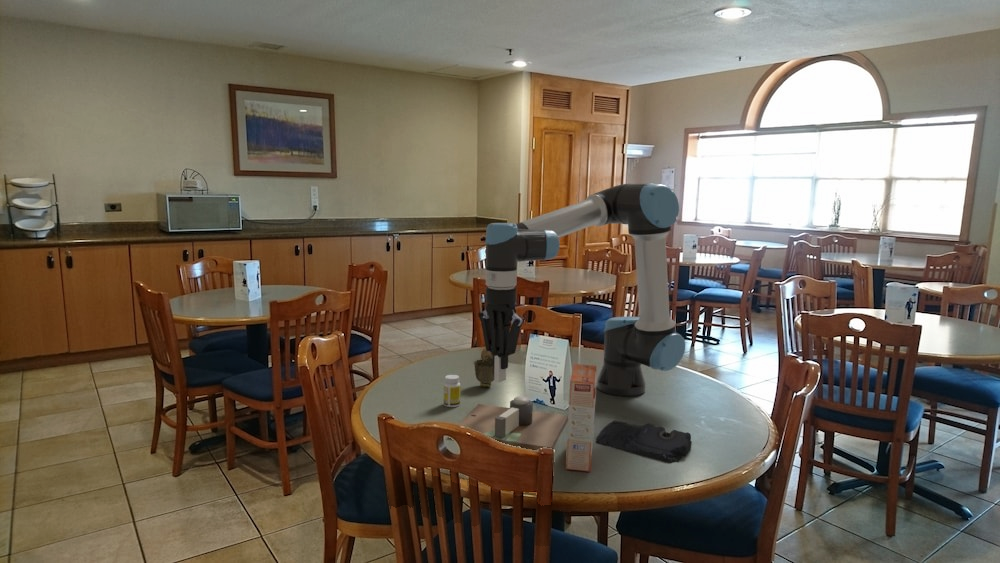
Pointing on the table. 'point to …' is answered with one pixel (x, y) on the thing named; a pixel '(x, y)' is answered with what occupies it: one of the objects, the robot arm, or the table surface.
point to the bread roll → (486, 355)
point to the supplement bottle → (451, 391)
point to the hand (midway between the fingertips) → (500, 380)
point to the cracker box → (581, 417)
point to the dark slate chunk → (646, 441)
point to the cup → (484, 372)
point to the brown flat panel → (529, 436)
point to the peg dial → (514, 416)
